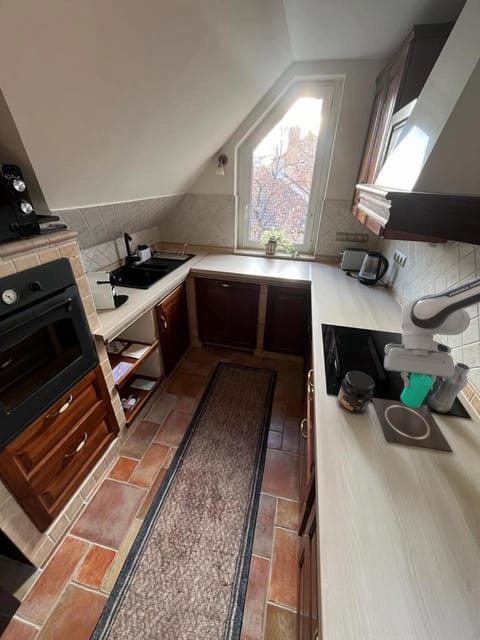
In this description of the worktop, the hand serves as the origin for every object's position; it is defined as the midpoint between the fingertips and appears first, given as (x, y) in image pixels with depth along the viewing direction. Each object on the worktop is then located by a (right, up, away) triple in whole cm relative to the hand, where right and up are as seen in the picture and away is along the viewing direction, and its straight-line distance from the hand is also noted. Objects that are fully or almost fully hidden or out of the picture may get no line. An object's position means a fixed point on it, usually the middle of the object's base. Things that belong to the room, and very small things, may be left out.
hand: (418, 388), depth 82 cm
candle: (0, -6, +4) cm, 7 cm away
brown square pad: (0, -13, +5) cm, 14 cm away
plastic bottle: (+15, -10, +11) cm, 21 cm away
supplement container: (-17, -9, +12) cm, 22 cm away
